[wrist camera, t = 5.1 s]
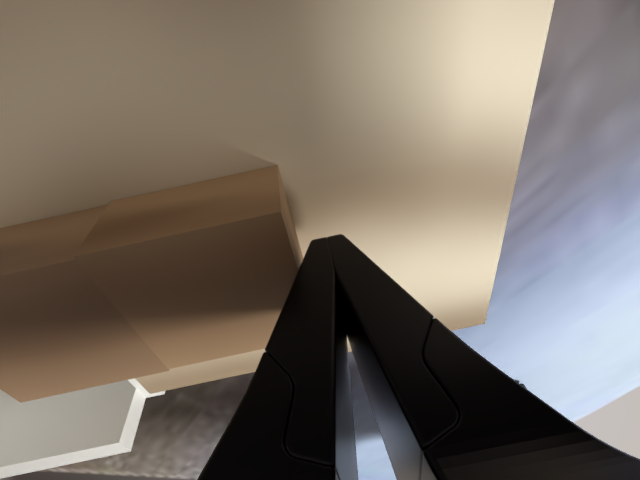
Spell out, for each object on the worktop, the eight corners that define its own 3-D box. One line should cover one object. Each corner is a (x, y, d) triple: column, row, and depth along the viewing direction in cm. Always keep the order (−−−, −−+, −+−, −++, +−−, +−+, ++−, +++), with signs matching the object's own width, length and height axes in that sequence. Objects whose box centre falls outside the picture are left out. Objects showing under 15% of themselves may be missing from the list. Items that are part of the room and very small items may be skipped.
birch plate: (456, 277, 15) (484, 323, 13) (165, 338, 15) (149, 393, 13) (500, -107, 7) (584, -137, 5) (-79, 19, 8) (-202, 35, 6)
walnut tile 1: (183, 311, 10) (169, 370, 9) (57, 339, 11) (20, 403, 9) (112, 203, 8) (75, 259, 6) (-53, 240, 8) (-130, 303, 6)
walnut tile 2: (309, 282, 10) (318, 336, 9) (182, 310, 10) (167, 369, 9) (277, 164, 8) (280, 211, 6) (110, 201, 8) (72, 256, 6)
